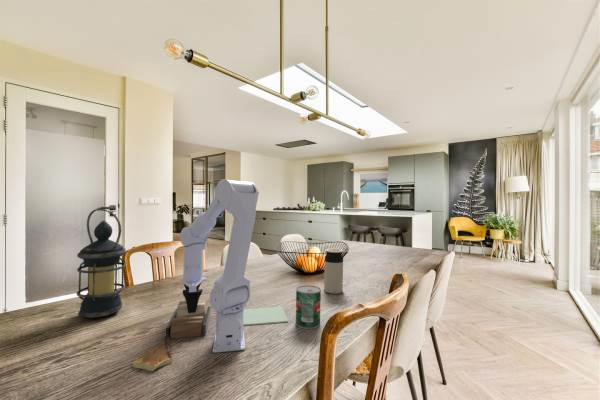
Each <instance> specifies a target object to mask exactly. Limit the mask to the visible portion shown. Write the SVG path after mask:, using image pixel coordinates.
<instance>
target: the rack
mask: <svg viewBox="0 0 600 400" xmlns="http://www.w3.org/2000/svg"><path fill="white" fill-rule="evenodd" d="M211 308H212V306H207V308H206V316H205V320H204V323H203V333H202V337H205V336H206V335H207V332H208V327H209V322H210V318H211ZM172 318H177V308H176V309H175V310H174V313H173V314H172V316H171V318H170V319H169V321H168V322H167V324H166V326H165V329H164V330H165V331H164V332H165V335H164V339H165V340H169V338H171V322H172Z"/></svg>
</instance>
